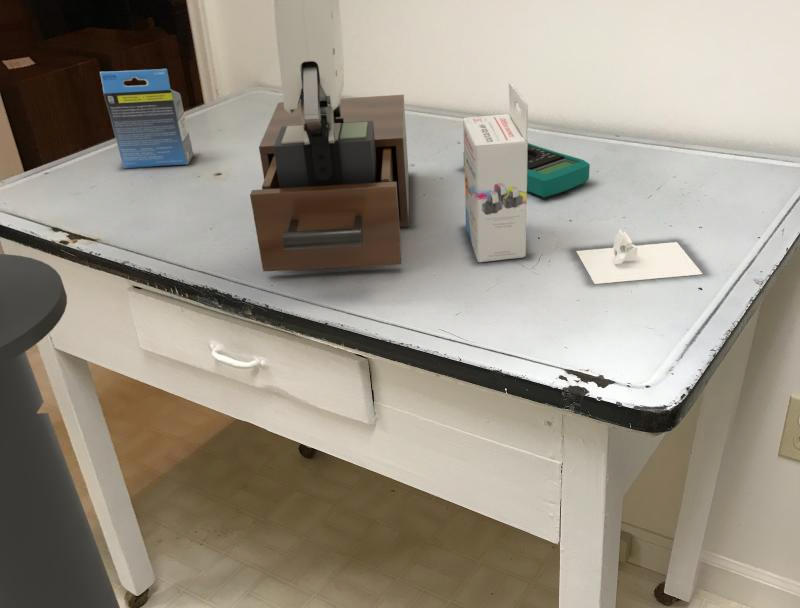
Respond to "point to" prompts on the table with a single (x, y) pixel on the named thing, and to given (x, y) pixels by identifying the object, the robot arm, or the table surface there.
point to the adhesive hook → (636, 261)
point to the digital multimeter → (553, 171)
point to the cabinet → (377, 109)
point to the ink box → (497, 181)
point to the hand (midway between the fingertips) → (328, 170)
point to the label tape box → (147, 119)
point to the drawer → (329, 222)
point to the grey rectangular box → (353, 154)
